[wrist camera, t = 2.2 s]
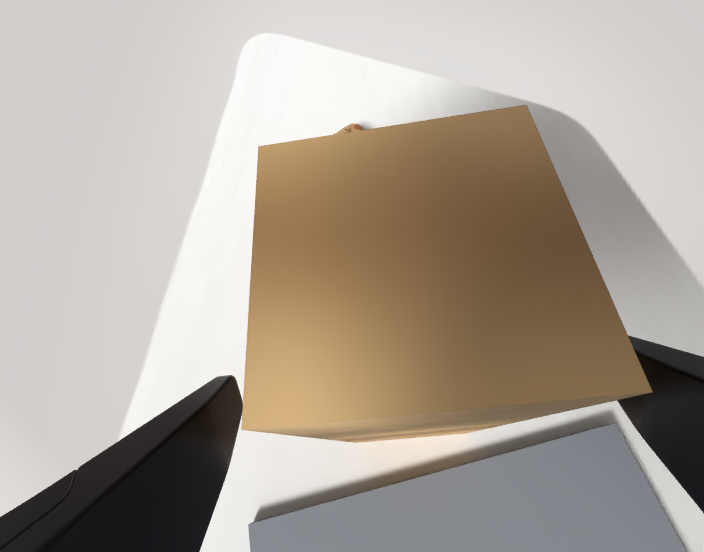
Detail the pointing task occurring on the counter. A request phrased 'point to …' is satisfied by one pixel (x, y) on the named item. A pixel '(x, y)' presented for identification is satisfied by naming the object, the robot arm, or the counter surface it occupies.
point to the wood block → (424, 286)
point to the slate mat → (494, 507)
